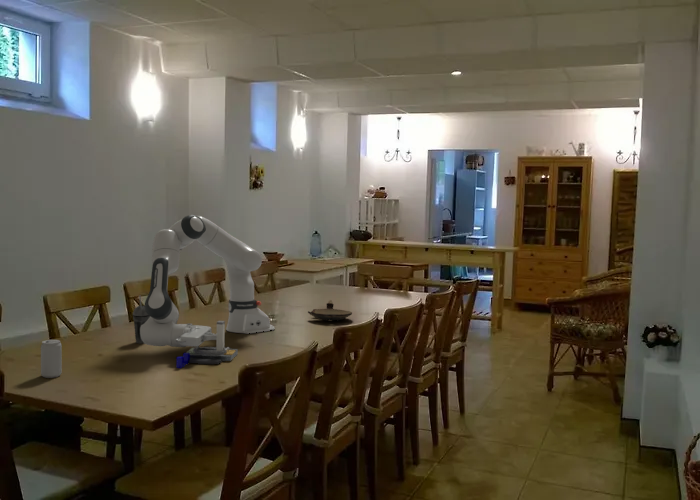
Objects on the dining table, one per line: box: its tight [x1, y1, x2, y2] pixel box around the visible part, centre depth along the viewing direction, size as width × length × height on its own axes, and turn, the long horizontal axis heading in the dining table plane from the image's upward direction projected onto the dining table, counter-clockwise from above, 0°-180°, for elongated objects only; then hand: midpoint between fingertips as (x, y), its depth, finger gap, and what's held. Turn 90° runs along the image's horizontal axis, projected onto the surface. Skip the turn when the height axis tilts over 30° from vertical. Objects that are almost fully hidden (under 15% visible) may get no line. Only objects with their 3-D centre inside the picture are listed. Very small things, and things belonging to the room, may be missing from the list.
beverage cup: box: [132, 295, 150, 344], centre depth 273 cm, size 7×7×20 cm
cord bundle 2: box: [189, 359, 223, 365], centre depth 243 cm, size 12×3×1 cm, turn 87°
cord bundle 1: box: [203, 345, 232, 349], centre depth 263 cm, size 12×3×1 cm, turn 87°
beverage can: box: [40, 339, 63, 379], centre depth 221 cm, size 6×6×12 cm
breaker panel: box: [186, 345, 239, 362], centre depth 253 cm, size 18×12×4 cm, turn 87°
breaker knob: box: [215, 320, 226, 351], centre depth 252 cm, size 2×3×12 cm
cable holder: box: [176, 351, 190, 369], centre depth 240 cm, size 8×4×4 cm, turn 173°
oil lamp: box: [307, 299, 353, 321], centre depth 337 cm, size 22×30×8 cm
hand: (217, 336), depth 253 cm, fingers closed, pressing on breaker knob
